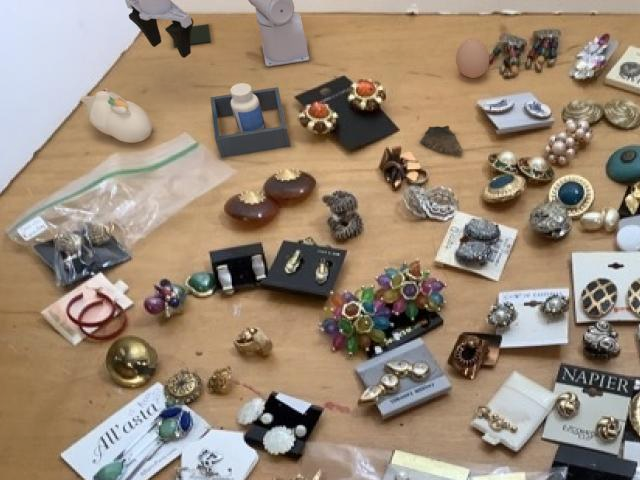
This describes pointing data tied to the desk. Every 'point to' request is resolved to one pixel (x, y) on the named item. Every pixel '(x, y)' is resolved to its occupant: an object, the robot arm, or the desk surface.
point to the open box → (250, 139)
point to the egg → (472, 58)
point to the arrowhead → (441, 140)
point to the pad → (199, 35)
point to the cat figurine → (117, 116)
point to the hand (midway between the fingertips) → (171, 49)
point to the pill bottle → (246, 108)
